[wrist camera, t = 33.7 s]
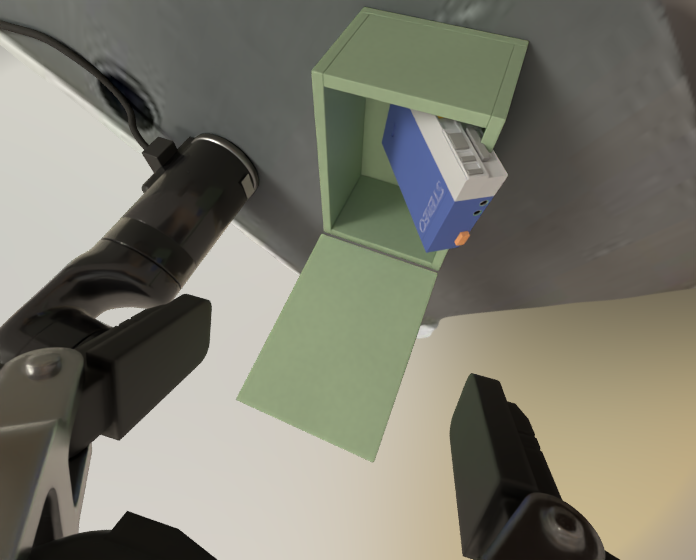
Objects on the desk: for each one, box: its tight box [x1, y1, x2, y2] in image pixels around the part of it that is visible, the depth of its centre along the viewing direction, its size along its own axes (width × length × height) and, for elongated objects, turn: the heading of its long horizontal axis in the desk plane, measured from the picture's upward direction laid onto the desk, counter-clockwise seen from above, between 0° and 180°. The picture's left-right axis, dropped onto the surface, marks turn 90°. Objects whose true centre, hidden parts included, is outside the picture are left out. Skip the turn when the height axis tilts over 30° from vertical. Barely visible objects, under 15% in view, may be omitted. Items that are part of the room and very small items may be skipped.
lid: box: [236, 234, 438, 462], centre depth 32 cm, size 16×12×6 cm
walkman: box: [382, 104, 508, 253], centre depth 25 cm, size 8×3×12 cm
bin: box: [311, 7, 529, 271], centre depth 29 cm, size 16×12×9 cm
